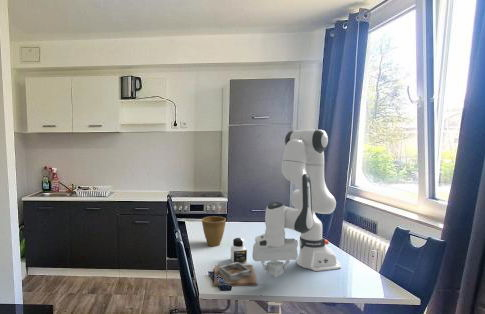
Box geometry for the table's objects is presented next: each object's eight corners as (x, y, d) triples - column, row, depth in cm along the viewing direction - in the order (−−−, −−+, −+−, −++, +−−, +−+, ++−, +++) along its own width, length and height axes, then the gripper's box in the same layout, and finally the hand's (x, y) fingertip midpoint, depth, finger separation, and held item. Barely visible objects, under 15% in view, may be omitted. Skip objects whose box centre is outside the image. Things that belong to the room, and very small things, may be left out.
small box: (273, 269, 135) (273, 258, 134) (283, 273, 131) (284, 262, 131) (266, 273, 131) (266, 262, 130) (276, 277, 127) (276, 266, 126)
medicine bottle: (233, 264, 152) (234, 241, 151) (230, 258, 159) (230, 237, 158) (246, 262, 154) (247, 240, 153) (243, 257, 161) (243, 236, 160)
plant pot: (227, 240, 188) (227, 216, 187) (223, 249, 173) (223, 222, 172) (204, 239, 189) (204, 215, 188) (198, 247, 174) (199, 221, 174)
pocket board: (252, 267, 148) (252, 260, 148) (256, 285, 129) (257, 277, 129) (214, 267, 147) (215, 260, 147) (214, 286, 128) (214, 278, 128)
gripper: (296, 235, 134) (295, 265, 135) (251, 237, 132) (252, 267, 133) (299, 240, 127) (299, 271, 128) (253, 242, 126) (253, 273, 127)
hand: (275, 269), depth 131 cm, fingers closed on small box, 8 cm apart
